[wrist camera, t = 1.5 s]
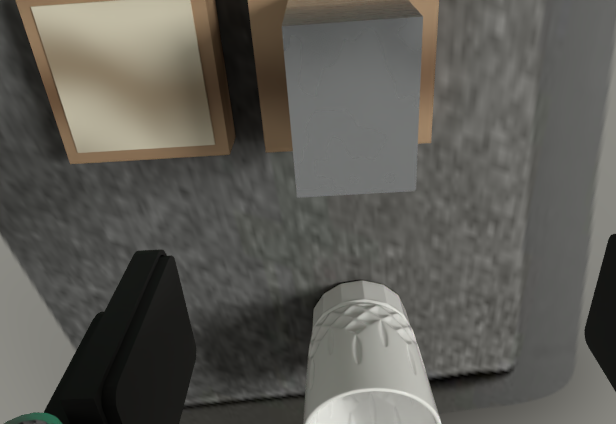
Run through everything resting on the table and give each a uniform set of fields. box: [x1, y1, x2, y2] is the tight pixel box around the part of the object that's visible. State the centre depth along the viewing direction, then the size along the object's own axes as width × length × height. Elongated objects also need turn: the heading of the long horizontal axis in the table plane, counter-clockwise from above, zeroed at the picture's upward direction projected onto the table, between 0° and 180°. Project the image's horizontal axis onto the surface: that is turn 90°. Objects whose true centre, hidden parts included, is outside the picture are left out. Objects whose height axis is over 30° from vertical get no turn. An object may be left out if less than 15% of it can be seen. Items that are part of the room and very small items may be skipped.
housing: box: [282, 0, 423, 197], centre depth 23 cm, size 7×5×7 cm
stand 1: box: [16, 0, 236, 164], centre depth 28 cm, size 9×9×3 cm
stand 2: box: [248, 0, 439, 152], centre depth 27 cm, size 9×9×2 cm
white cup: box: [303, 280, 441, 424], centre depth 34 cm, size 8×8×10 cm
